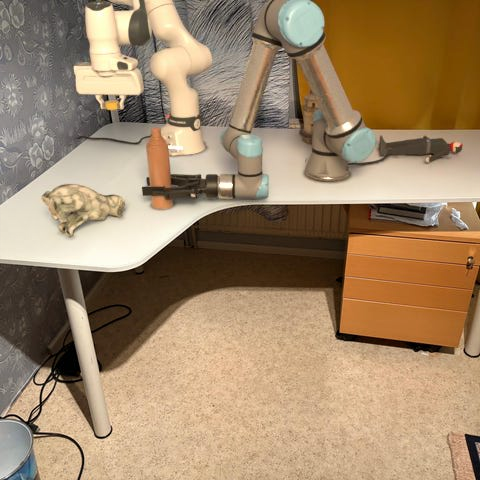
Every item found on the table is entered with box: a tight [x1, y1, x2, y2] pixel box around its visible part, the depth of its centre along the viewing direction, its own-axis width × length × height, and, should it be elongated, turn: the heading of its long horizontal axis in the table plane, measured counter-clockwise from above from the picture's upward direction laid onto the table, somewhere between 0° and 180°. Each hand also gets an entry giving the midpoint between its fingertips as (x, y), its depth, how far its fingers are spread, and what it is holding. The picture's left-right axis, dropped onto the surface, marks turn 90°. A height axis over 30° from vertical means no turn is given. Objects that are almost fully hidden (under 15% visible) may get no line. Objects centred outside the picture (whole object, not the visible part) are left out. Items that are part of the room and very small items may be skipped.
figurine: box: [40, 183, 126, 238], centre depth 153 cm, size 10×19×20 cm
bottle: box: [145, 126, 174, 210], centre depth 163 cm, size 7×7×25 cm
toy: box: [378, 134, 464, 163], centre depth 203 cm, size 26×6×30 cm
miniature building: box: [298, 88, 320, 144], centre depth 213 cm, size 13×14×30 cm
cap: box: [104, 99, 120, 111], centre depth 164 cm, size 4×4×2 cm
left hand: (112, 108), depth 164 cm, fingers closed on cap, 4 cm apart
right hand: (144, 186), depth 166 cm, fingers closed on bottle, 7 cm apart
